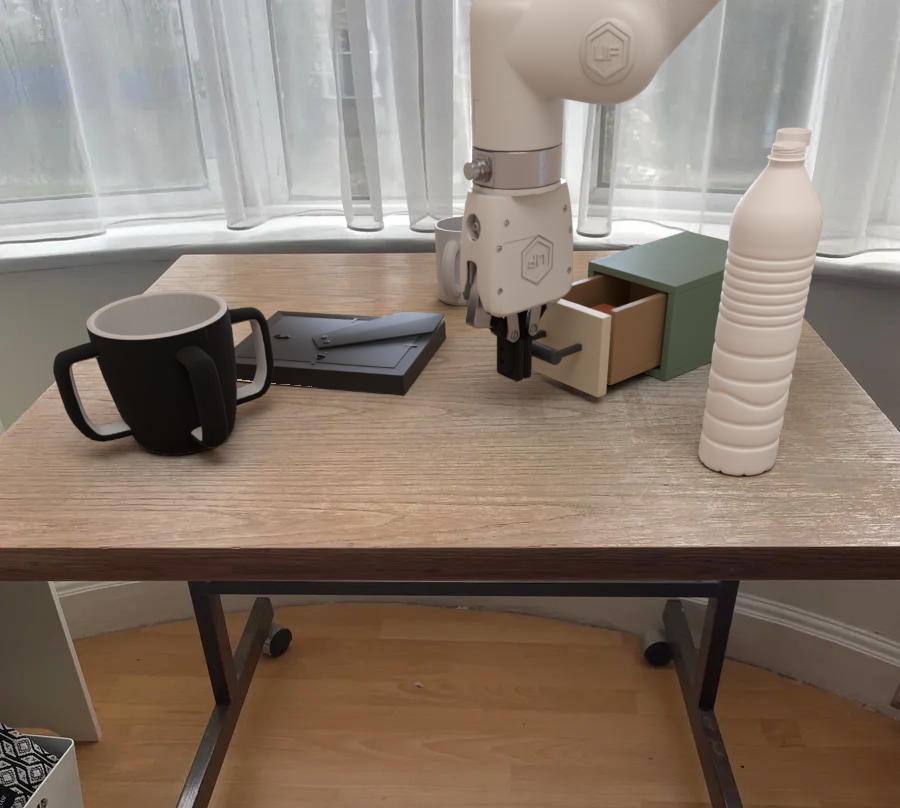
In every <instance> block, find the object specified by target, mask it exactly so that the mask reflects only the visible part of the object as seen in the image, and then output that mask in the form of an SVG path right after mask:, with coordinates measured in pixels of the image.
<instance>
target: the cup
mask: <svg viewBox="0 0 900 808" xmlns="http://www.w3.org/2000/svg"><path fill="white" fill-rule="evenodd" d="M462 223H463V215H457V216H450V217H449V216H448V217H444V218H442V219H439V220H437V221H435V222H434V243H435V265H436V266H435V267H436V286H437V287H436V288H437V296H438V298H439V300H440V301H441V302H442V303H444V304H447V305H451V306H457V307H459V306H460V307H466V306H467V305H465V304H464V303H463V300H462V295H461V285H460V250H461V233H462ZM467 307H468V306H467Z"/></svg>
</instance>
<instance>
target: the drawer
mask: <svg viewBox="0 0 900 808" xmlns="http://www.w3.org/2000/svg"><path fill="white" fill-rule="evenodd" d="M668 294H669V293H667V292H664V291H660V290H657V289H654V288H650V287H647V286H644V285H640V284H637V283H634V282H630V281H627V280H624V279H620V278H617V277H614V276H610V275H607V274H604V273H601V274H598V275H595V276H592V277H589V278H588V277H586V278H582V279H580V280H577V281H574V282H573V281H572V286H571V289H570V291H569V292H568V293H567V294H566V295H565V296H563V297H562V298H561V299H560V300H559V301H558V302H557V303H556V304H554V305H553V306H551V307H550V308H548V309H546V310H545V312H544V314H543V315H542V317H541V319H540V320H539V328H538V331H537V333H536V334H535V335H534V336H532V369H531V371H534V372H536V373H539V374H541V375H543V376H546V377H548V378H550V379H553V380H555V381H558V382H560V383H561V384H562V383H563V384H565V385H567V386H570V387H572V388H574V389H576V390H578V391H581V392H583V393H586V394H588V395H589V396H593V397H595V398H601V397H603V396H606V395H607V385H609V386H613V385H615V384H617V383H620V382H622V381H624V380H627V379H629V378H631V377H635V376H636V375H637V376H638V375H639V374H642V372H644V371H646V370H649V369H651V368H654V367H656V366H659V365H661V359H662V350H663V341H664V331H665V322H666V313H667V303H668ZM603 303H605V304H608V305H611V306H614V307H617V308H615V309H612V310H610V315H608V314H605V313H602V312H599V311H596V310H593V309H590V308H592V307H595V306H598V305H601V304H603Z"/></svg>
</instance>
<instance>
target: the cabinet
mask: <svg viewBox="0 0 900 808" xmlns="http://www.w3.org/2000/svg"><path fill="white" fill-rule="evenodd" d="M728 241H729V240H727V239H722V238H718V237H713V236H710V235H705V234H702V233H697V232H694V231H689V230H685V231H682V232H679V233H675V234H673V235H669V236H666V237H662V238H659V239H656V240H653V241H650V242H645V243H644V244H639V245H637V246H634V247H631V248H627V249H624V250H621V251H618V252H614V253H611V254H608V255H604V256H602V257H598V258H595V259H592V260H589V261H588V262H587V263H588V266H587V278H589V277H592V276H595V275H598V274H601V273H604V274H607V275H610V276H614V277H617V278H620V279H624V280H627V281H630V282H634V283H637V284H640V285H644V286H647V287H650V288H654V289H657V290H660V291H664V292H667V293H669V294H668V303H667V313H666V322H665V331H664V341H663V350H662V359H661V365H659V366H656V367H654V368H651V369H649V370H646V371H644V372H642V373H643V374H645V375H648V376H651V377H653V378H656V379H658V380H661V381H664V382H667V381H669V380H671V379H674V378H677V377H679V376H682V375H684V374H686V373H688V372H690V371H693V370H695V369H697V368H700V367H702V366H705V365H707V364H709V363H712V351H713V346H714V343H715V341H716V340H715V330H716V324H717V318H718V313H719V305H720V301H721V292H722V284H723V280H724V271H725V262H726V259H727V249H728V247H729V246H728ZM642 373H641V374H642Z"/></svg>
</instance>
